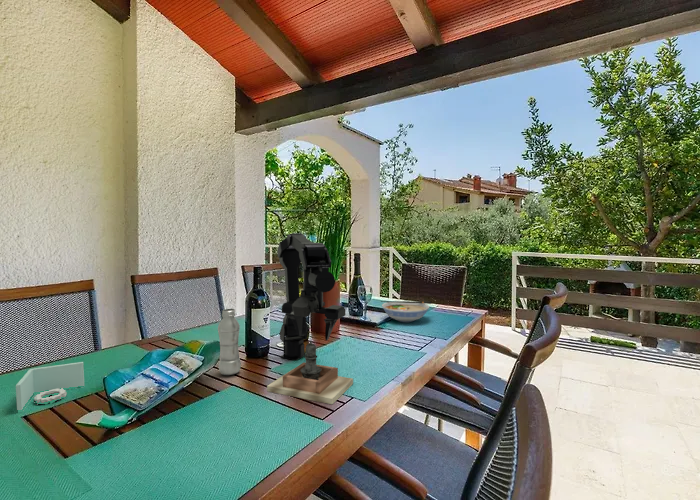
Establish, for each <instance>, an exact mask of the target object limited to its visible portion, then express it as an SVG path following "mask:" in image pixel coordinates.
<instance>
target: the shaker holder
mask: <svg viewBox="0 0 700 500" xmlns="http://www.w3.org/2000/svg"><path fill="white" fill-rule="evenodd" d="M305 364H306V362H302V363H301V364H298V365H297V366H296V367H294V368H292V369H290V371H289V370H288V372H285V373H284V374H283V375H282V376H280V377H279V378H277V379H276V380H274V381H272V382H271V383H270V384H268V385H267V386H266V391H267V392H268V393H275V394H279V395H284V396H290V397H295V398H299V399H304V400H309V401H314V402H318V403H324V404H329V405H333V404H334V403H335V402H337V400H338V399H340V397H341V396H343V394H344V393H346V392H347V390H349V388H350V387H351V386H352V385H353V384H354V378H350V377H345V376H341V375H340V376H339V369H338V367H335V366H327V365H321V364H317V367H320V368H321V372H320V375H319V377H318V378H317V379H319V380H313V379H308V378H304V377H303V376H302V372H301V369H302V368H303V367H305Z"/></svg>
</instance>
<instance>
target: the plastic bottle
mask: <svg viewBox="0 0 700 500" xmlns="http://www.w3.org/2000/svg"><path fill="white" fill-rule="evenodd" d="M235 316H236V309H235V308H224V309H222V313H221V317H222V318H221V320H220V322H219V323H218V325H217V332H218V339H219V348H220V352H219V353H220V354H219V362H218V370H219V373H220V374H221V375H223V376H232V375H233V376H234V375H235V374H237V373H239V372H240V370H241V366H242V365H241V364H242V362H241V359H240V352H239V351H240V350H239V349H240V348H239V338H240V337H239V336H240V329H241V327H240V326H241V325H240V323H239V321H238V320H237V318H236V317H235Z"/></svg>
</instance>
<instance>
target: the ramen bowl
mask: <svg viewBox="0 0 700 500" xmlns="http://www.w3.org/2000/svg"><path fill="white" fill-rule="evenodd" d="M380 302H381V303H383V304H381V307H382V308H383V310H384V312H385V313H386V315H387V316H388V317H389V318H392V319H393V320H396V321H398V322H399V323H412V322H414V321H418V320H420V319H421V318H423V317H424V316H425V314H427V312H428V311H429V309H430V305H431V304H432V301H415V300H414V301H412V300H411V301H409V300H408V301H407V300H398V301H397V300H395V301H393V300H392V301H386V300H385V301H380ZM429 304H430V305H429Z"/></svg>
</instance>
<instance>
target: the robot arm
mask: <svg viewBox="0 0 700 500" xmlns="http://www.w3.org/2000/svg"><path fill="white" fill-rule="evenodd" d="M277 258H278V260H279V261H278V262H279V263H280V265H281V267H282V268H283V270H284V278H285V279H284V282H285V299H286V302H284V303H283V304H282V306H281V313H282V314H285V315H284V316H283V318H282V325H281V327H280V330H279V340H280V341H281V342H282V343H283V349H282V350H283V355H281V356H280V358H281V359H286V360H292V361H298V360H299V359H301V358H303V357H305V356H306V352H305V343H304V340H307V339H308V335H309V334H308V333H309V325H308V322H307V318H309V316H310V315H311V314H312V313H314V314H321V315H324V316H325V318H324V319H323V322H324V323H325V332H324V339H325V341H329V339H330V337H331V334H332V332H333V329H334V327H335V325H336V323H337V321H338V320H340V319H341V318H344V317H345V316H346V308H345V307H344V306H343V305H337V304H332V305H329V306H328V307H325V306H326V302H325V301H324V293H328V292H331V291H332V290H333V288H334V287H335V285H336V277H335V275H334V274H333V273H332V272H330V271H329V268H332V260H331V257H330V254H329V251H328V249H327V247H326V245H325V244H324V243H322V242H313V241H311V240H310V239H308V238H307V237H306V236H305V235H304V234H303V233H301V232H299V233H296V232H294V233H293V232H292V233H289V234H287V236H286V238H284V239H283V240H281V241H280V242H279V244H278V247H277ZM300 265H302V269H303V270H302V271H303V272H302V273H303V282H302V283H303V288H302V290H301V291H300V282H299V267H300Z"/></svg>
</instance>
